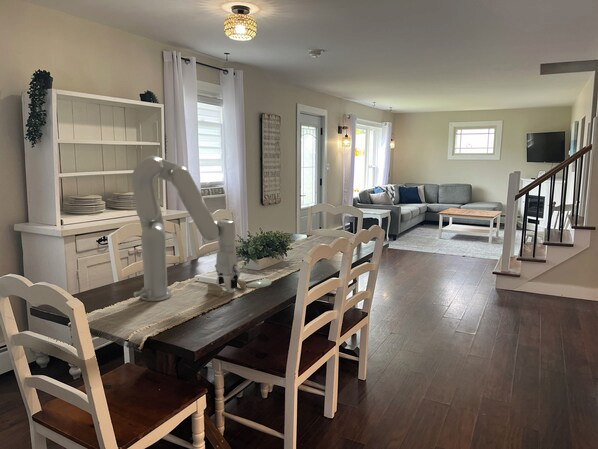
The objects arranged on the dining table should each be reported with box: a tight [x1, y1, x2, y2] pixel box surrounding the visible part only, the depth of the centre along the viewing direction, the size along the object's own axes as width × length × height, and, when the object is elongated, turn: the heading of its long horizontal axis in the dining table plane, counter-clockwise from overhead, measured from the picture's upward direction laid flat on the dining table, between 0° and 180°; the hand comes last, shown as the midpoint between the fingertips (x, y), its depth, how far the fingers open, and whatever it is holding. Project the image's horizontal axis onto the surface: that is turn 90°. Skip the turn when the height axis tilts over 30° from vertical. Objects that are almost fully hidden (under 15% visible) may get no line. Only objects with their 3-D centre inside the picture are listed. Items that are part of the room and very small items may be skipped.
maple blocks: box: [207, 278, 247, 298], centre depth 204 cm, size 15×9×4 cm, turn 138°
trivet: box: [246, 277, 272, 289], centre depth 216 cm, size 14×14×1 cm
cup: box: [216, 274, 236, 294], centre depth 204 cm, size 7×10×8 cm
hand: (227, 285), depth 204 cm, fingers closed on cup, 8 cm apart
